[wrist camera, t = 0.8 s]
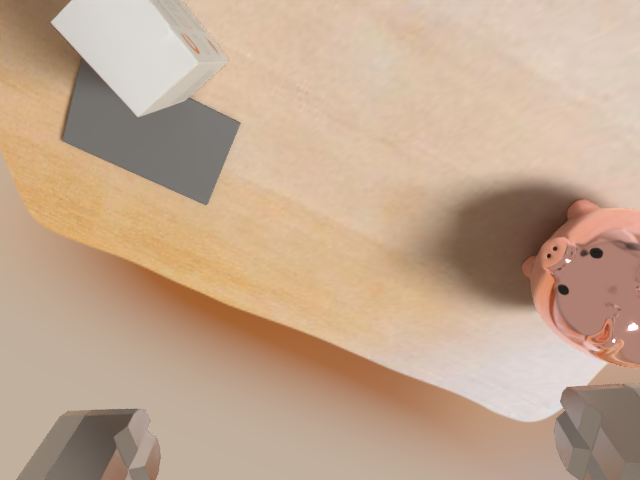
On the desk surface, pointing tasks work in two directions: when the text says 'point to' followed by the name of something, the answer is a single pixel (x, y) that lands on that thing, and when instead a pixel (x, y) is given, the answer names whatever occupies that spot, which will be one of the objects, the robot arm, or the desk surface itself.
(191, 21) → the small box
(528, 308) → the desk surface
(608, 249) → the piggy bank
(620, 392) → the robot arm
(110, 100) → the mat
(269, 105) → the desk surface
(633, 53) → the desk surface
